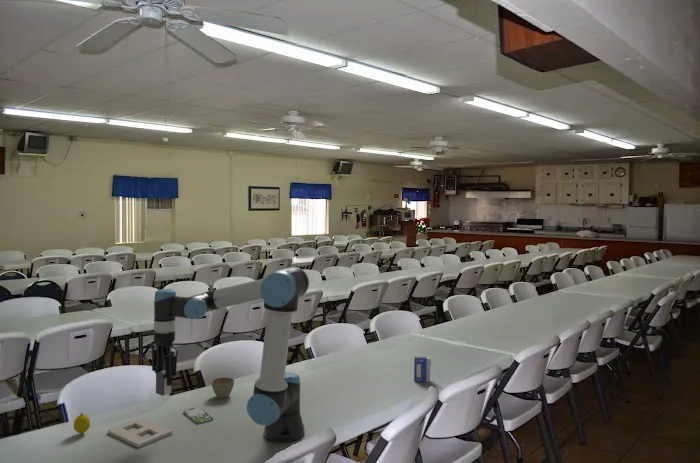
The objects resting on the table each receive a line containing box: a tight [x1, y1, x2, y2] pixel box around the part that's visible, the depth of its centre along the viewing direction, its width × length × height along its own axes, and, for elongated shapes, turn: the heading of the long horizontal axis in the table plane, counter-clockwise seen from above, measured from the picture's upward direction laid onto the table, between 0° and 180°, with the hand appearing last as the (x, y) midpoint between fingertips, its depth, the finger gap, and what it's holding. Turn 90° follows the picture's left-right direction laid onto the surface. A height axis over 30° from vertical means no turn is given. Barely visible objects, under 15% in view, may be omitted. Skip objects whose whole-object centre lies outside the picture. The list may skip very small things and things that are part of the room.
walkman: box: [413, 356, 432, 383], centre depth 257 cm, size 8×3×12 cm, turn 86°
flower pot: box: [210, 376, 235, 399], centre depth 235 cm, size 10×10×7 cm
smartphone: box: [183, 406, 214, 425], centre depth 213 cm, size 7×1×15 cm
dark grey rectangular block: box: [155, 369, 173, 397], centre depth 196 cm, size 4×4×8 cm
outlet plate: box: [107, 417, 173, 448], centre depth 197 cm, size 20×14×1 cm
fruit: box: [73, 413, 91, 435], centre depth 195 cm, size 6×6×8 cm
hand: (163, 391), depth 196 cm, fingers closed on dark grey rectangular block, 4 cm apart
